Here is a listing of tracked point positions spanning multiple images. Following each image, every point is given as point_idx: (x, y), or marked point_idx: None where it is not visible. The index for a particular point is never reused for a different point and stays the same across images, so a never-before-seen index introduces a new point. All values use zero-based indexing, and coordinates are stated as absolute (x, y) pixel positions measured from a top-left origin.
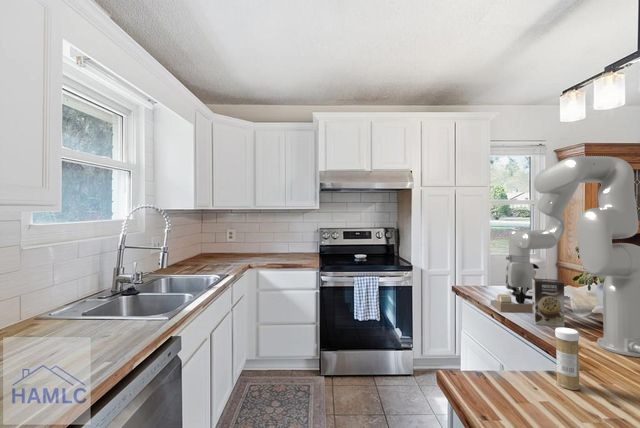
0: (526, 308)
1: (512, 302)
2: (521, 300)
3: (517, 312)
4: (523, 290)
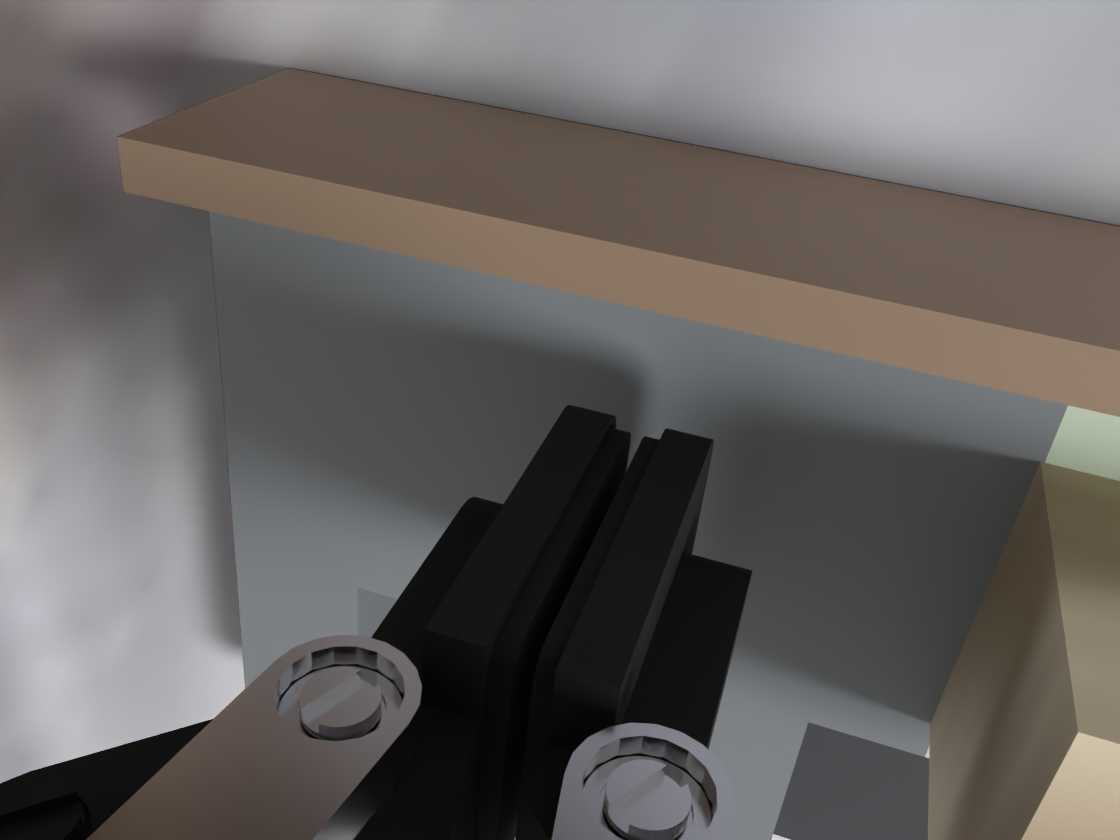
0: (626, 181)
1: None
2: (622, 496)
3: (954, 198)
4: (326, 816)
